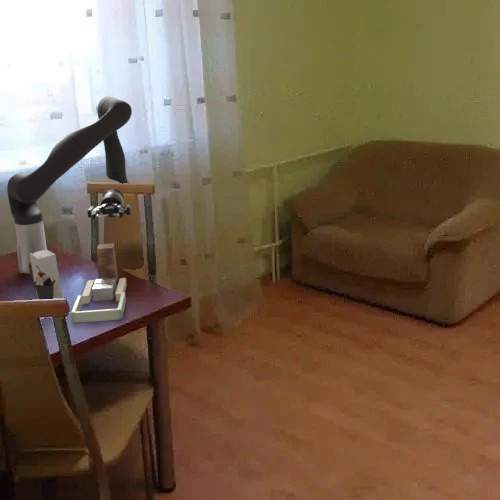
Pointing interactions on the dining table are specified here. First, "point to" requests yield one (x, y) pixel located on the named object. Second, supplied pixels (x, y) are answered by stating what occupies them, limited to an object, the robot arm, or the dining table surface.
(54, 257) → the skincare box
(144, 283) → the dining table surface
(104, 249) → the block
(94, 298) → the grey rectangular block
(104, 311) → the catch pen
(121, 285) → the slot rails
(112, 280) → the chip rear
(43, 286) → the sundae
